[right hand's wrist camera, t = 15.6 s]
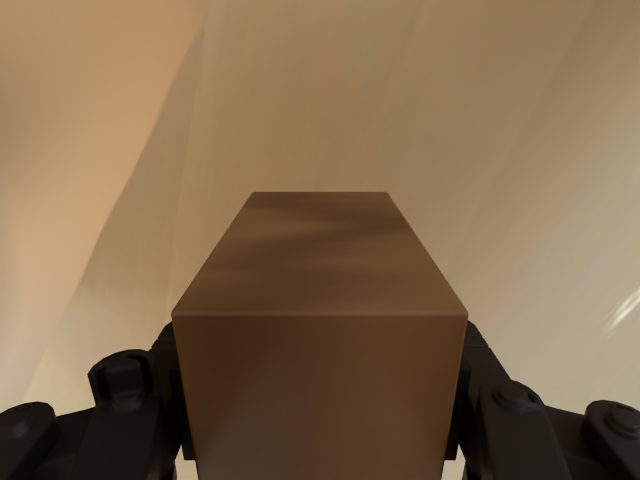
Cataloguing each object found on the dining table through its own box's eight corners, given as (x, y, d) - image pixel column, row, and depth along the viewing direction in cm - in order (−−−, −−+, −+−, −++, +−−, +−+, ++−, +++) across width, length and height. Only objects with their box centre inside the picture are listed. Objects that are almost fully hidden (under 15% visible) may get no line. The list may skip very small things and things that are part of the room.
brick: (387, 191, 14) (470, 312, 6) (377, 345, 17) (428, 567, 9) (252, 191, 14) (168, 312, 6) (262, 345, 17) (211, 567, 9)
